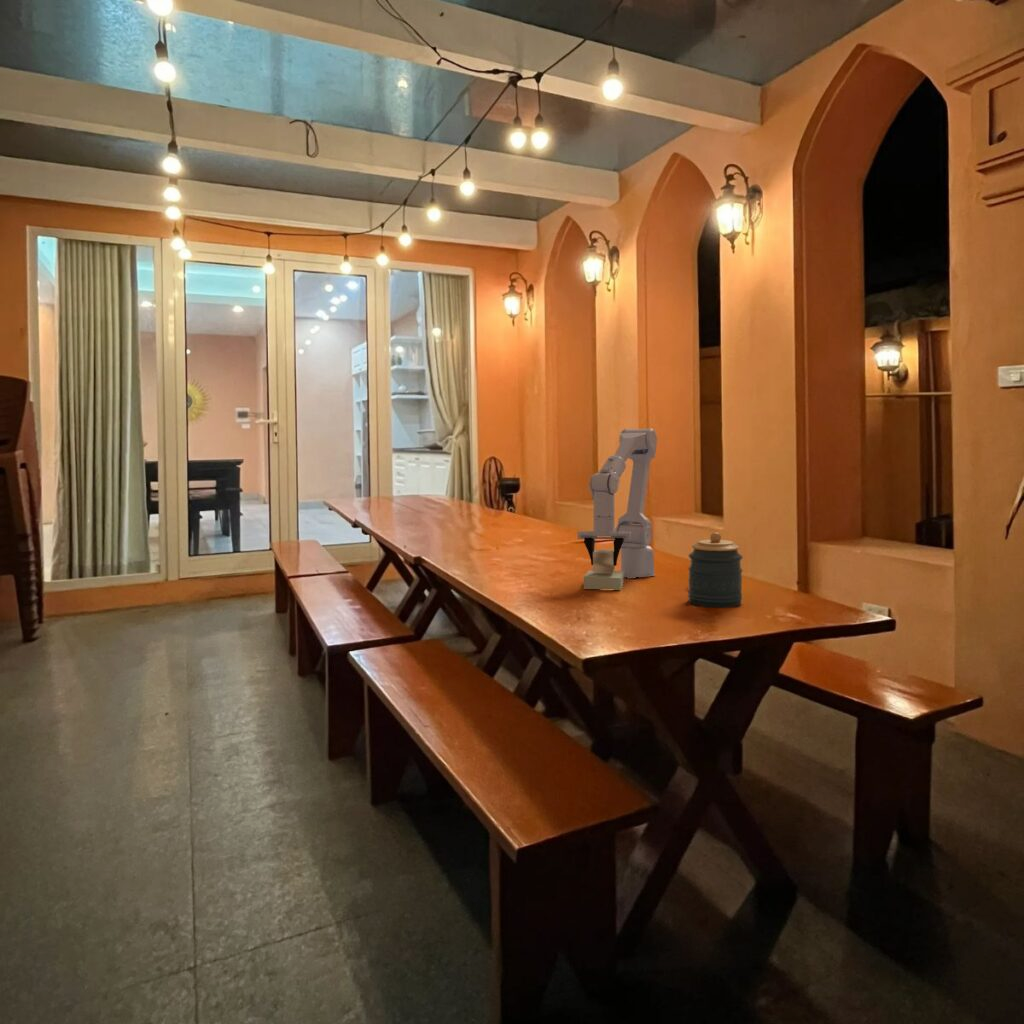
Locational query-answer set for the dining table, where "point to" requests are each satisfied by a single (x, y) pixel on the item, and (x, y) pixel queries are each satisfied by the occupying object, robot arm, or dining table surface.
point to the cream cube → (603, 561)
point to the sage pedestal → (604, 580)
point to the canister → (715, 573)
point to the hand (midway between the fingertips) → (604, 564)
